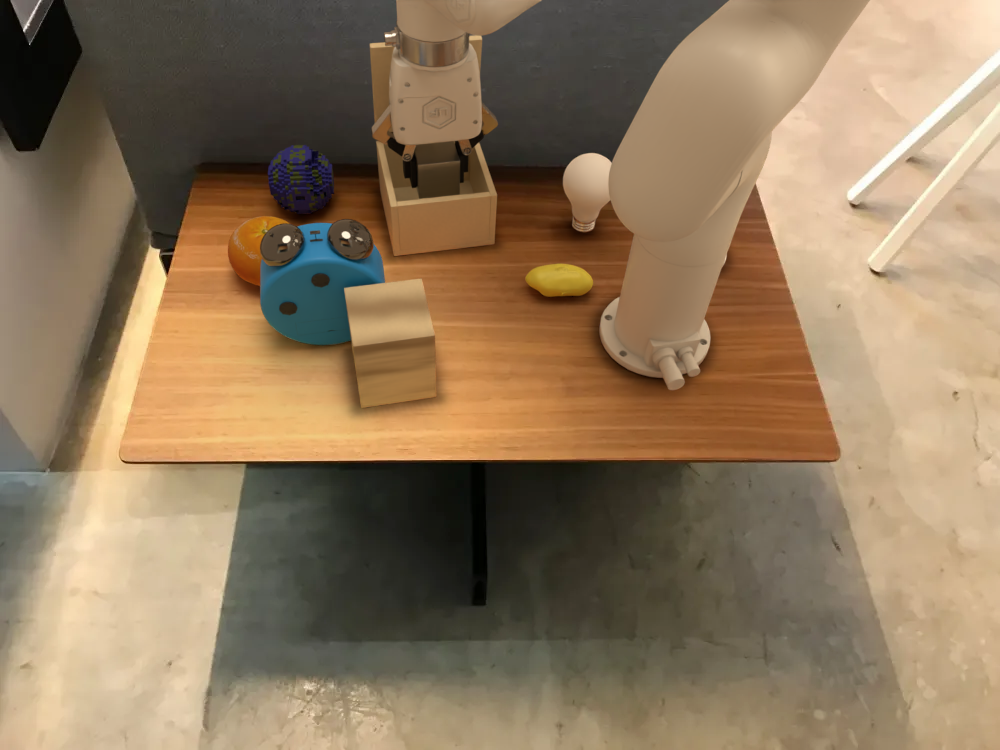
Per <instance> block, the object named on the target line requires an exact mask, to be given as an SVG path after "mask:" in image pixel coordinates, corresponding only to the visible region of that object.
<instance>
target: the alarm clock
mask: <svg viewBox="0 0 1000 750" xmlns="http://www.w3.org/2000/svg"><path fill="white" fill-rule="evenodd" d="M374 242H375V241H374V237H373V235H372V232H371V231H370V230H369V228H367V226H365V224H363V223H361V222H360V221H358V220H356V219H352V218H342V219H338V220H336V221H334V222H333V223H332V222H331V223H330V222H313V223H307V224H306V223H305V224H301V225H298V226H297V225H295V224H293V223H290V224H287V223H284V224H279V225H276V226H274V227H272V228H271V229H269V230H268V231H267V232H266V233H265V235H264V236H263V238H262V240H261V243H260V255H261V257H262V260H261V266H260V286H259V294H260V295H259V296H260V297H259V299H260V300H259V303H260V309H261V312H262V315H263V317H264V319H265V320H266V322H267V324H269V325H270V326H271V328H273V329H274V330H275V332H277V333H279V334H280V335H282V336H284V337H285V338H288V339H290V340H293V341H295V342H299V343H302V344H307V345H314V346H332V345H339V344H344V343H348V342H351V337H350V329H349V322H348V315H347V307H346V300H345V292H344V288H348V287H356V286H364V285H372V284H380V283H386V277H385V268H384V260H383V258H382V257H383V256H382V255H381V253H380V251H379V249H378V248H377V246H376V245H375V243H374Z"/></svg>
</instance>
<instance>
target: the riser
mask: <svg viewBox="0 0 1000 750" xmlns="http://www.w3.org/2000/svg"><path fill="white" fill-rule="evenodd" d="M423 282H424V281H423V278H422V277H421V278H412V279H405V280H397V281H388V282H385V283H380V284H372V285H364V286H356V287H348V288H344V292H345V300H346V307H347V315H348V322H349V329H350V337H351V341H350V343H351V344H350V345H351V352H352V357H353V363H354V371H355V377H356V384H357V389H358V396H359V402H360V408H361V409H364V408H365V409H366V408H372V407H377V406H384V405H392V404H398V403H399V404H400V403H407V402H412V401H418V400H425V399H431V398H432V399H433V398H437V367H436V365H437V362H436V361H437V360H436V359H437V358H436V333H435V328H434V325H433V320H432V317H431V312H430V308H429V304H428V299H427V295H426V291H425V287H424V283H423Z"/></svg>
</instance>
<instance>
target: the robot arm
mask: <svg viewBox="0 0 1000 750" xmlns="http://www.w3.org/2000/svg"><path fill="white" fill-rule="evenodd" d="M542 1H543V0H395V2H396V21H395V26H394V27H393V30H390V31H388V32H387V31H385V32H383V39H384V42H385V46H392V47H395V48H394V50H393V54H392V60H391V67H390V80H389V106H388V108H387V109H386V110H385V111H384V113H383V114H382V115H381V116H380V118H379V119H378V120H377V121H376V123H375V122H374V124H373V125H372V126H371V128H370V133H371V137H372V138H373V139H374V140H375V141H379V142H381V143H383V144H386V145H388V147H389V148H390V149H391V150H393V151H394V152H396V153H397V154H399V155H400V156H401V157H402V159H403V173H404V178H405V179H406V178H410V182H411V186H412V188H416V187H417V162H416V158H415V154H414V151H415V147H416V145H419V144H430V143H440V142H450V141H455V146H456V150H457V153H458V156H459V159H460V183H464V172H468V161H469V155H470V154H471V153H472V148H473V147H474V146H476V145H477V144H478V143H480V142H481V141H482V140H483V139H484V138H485V135H488V134H489V133H491V132H492V131H493V130H494V129H496V128H497V127H498V125H499V122H498V119H497V116H496V115H495V114H494V113H493V112H492V111H491V110H490V109H489V107H487V106H486V105H485V103H484V102H483V101H482V85H481V83H482V82H481V71H480V72H479V65H478V59H477V54H476V52H475V50H474V48H473V46H472V45H471V44H470V43H469V36H470V35H471V36H475V35H477V36H481V37H482V36H487V35H491V34H493V33H495V32H497V31H498V30H500V29H501V28H503V27H504V26H506V25H507V24H509V23H510V22H512V21H513V20H515V19H516V18H518V17H520V16H521V15H522V14H523V13H525V12H526V11H528V10H530V9H531V8H532V7H534V6H535V5H537V4H538V3H541V2H542ZM870 1H871V0H728V1H727V2H725V3H724V4H723V5H722V6H721V7H720V8H718V9H717V10H716V11H715V12H714V13H712V14H711V15H710V16H709V17H708V18H706V19H705V20H704V21H703V22H702V23H701V24H699V25H698V26H697V27H696V28H695V29H694V30H693V31H691V32H690V33H689V34H688V35H687V36H685V38H683V39H682V41H680V43H679V44H677V46H676V47H675V49H673V51H672V52H671V54H670V55H669V56H668V57H667V59H666V60H665V62H664V63H663V65H662V66H661V67H660V69H659V71H658V72H657V74H656V76H655V78H654V80H653V81H652V83H651V85H650V86H649V89H648V91H647V92H646V94H645V97H644V98H643V100H642V101H641V104H640V106H639V108H638V109H637V111H636V113H635V115H634V117H633V119H632V121H631V123H630V124H629V127H628V128H627V130H626V133H625V134H624V136H623V138H622V140H621V142H620V144H619V145H618V147H617V149H616V152H615V154H614V156H613V158H612V161H611V163H612V164H611V167H610V172H609V180H608V187H609V196H610V204H611V206H612V208H613V211H614V213H615V215H616V217H617V218H618V219H619V221H620V223H621V224H622V225H623V226H624V227H625V228H626V229H627V230H628V231H629V232H631V233H632V234H633V235H632V236H633V237H632V241H631V244H630V245H631V246H630V249H629V254H628V259H627V263H626V268H625V272H624V276H623V282H622V286H621V290H620V295H619V296H617V298H614V299H613V300H612V301H611V302H610V303H609V304H608V305H606V306H607V307H605V309H604V310H603V312H602V314H601V316H600V322H599V326H598V327H599V328H598V329H599V338H600V341H601V344H602V346H603V349H604V350H605V352H606V353H607V354H608V355H609V356H610V357H611V359H613V360H614V361H615V362H616V363H618V364H619V365H620V366H622V367H623V368H625V369H627V370H628V371H631V372H633V373H635V374H638V375H642V376H646V377H649V378H656V379H657V378H658V379H663V381H664V383H665V386H666V387H667V390H669V391H677V390H679V389H682V387H684V385H685V384H686V381H685V378H684V376H683V375H686V374H687V376H688V377H690V378H694V377H697V376H698V375H700V373H701V369H700V367H699V366H700V365H701V363H702V362H703V361H704V359H705V358H706V357H707V354H708V352H709V349H710V346H711V340H712V339H711V330H710V328H709V325H708V323H707V320H706V319H705V317H706V315H707V312H708V309H709V306H710V303H711V300H712V297H713V294H714V291H715V289H716V285H717V282H718V280H719V277H720V274H721V271H722V269H723V267H724V265H723V263H724V260H725V257H726V254H727V255H728V251H729V250H730V246H731V243H732V241H733V238H734V235H735V233H736V229H737V227H738V224H739V221H740V219H741V216H742V215H743V211H744V210H745V208H746V207H745V206H746V204H747V202H748V200H749V198H750V196H751V194H752V191H753V189H754V188H755V186H756V183H757V181H758V180H759V179H758V178H759V177H760V175H761V172H762V170H763V167H764V165H765V162H766V160H767V158H768V155H769V151H770V148H771V142H772V135H773V131H774V130H775V129H776V128H777V126H778V125H779V124H780V123H781V122H782V121H783V120H784V119H785V118H786V117H787V116H788V115H789V113H790V112H791V111H792V110H793V109H795V107H796V106H797V105H798V104H799V103H800V102H801V100H802V99H803V98H804V97H805V96H806V95H807V93H808V92H809V91H810V90H811V88H812V87H813V86H814V84H815V83H816V81H817V80H818V78H819V77H820V75H821V73H822V72H823V70H824V69H825V67H826V65H827V63H828V61H829V60H830V58H831V57H832V56H833V53H834V52H835V51H836V49H837V47H838V46H839V45H840V43H841V41H842V40H843V39H844V38H845V36H846V35H847V34H848V32H849V30H850V29H851V28H852V26H853V25H854V23H856V21H857V20H858V18H859V17H860V15H861V14H862V12H863V11H864V10H865V8H866V7H867V6H868V4H869V3H870ZM474 121H475V122H474ZM391 126H392V129H393V132H389V129H390V128H391ZM722 266H723V267H722Z"/></svg>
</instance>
